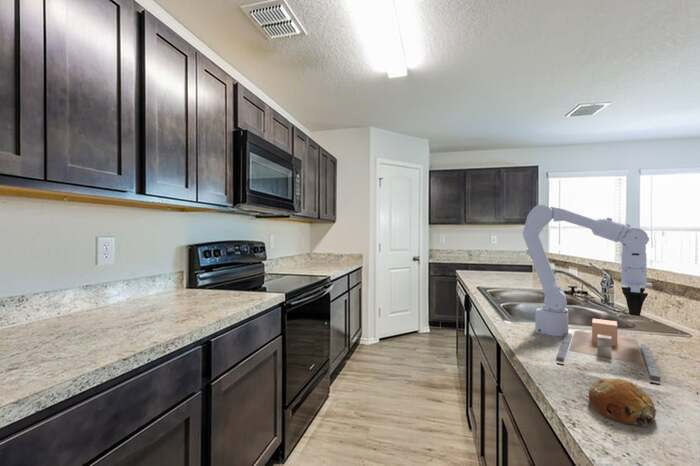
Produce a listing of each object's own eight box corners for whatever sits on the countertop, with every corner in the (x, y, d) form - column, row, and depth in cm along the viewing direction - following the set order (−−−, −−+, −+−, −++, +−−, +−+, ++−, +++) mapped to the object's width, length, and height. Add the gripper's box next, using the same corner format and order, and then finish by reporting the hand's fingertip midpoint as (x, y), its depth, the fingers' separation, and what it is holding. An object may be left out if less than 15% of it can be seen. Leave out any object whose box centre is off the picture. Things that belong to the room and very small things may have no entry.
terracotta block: (592, 342, 101) (592, 322, 101) (592, 337, 106) (592, 318, 106) (617, 346, 97) (617, 325, 97) (616, 340, 102) (616, 321, 102)
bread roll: (644, 426, 65) (636, 382, 69) (673, 431, 57) (661, 380, 60) (586, 417, 69) (580, 376, 72) (603, 420, 60) (596, 373, 63)
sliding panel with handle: (568, 354, 94) (568, 333, 94) (575, 333, 113) (575, 315, 113) (644, 368, 84) (644, 344, 84) (637, 343, 103) (637, 323, 103)
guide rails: (556, 364, 87) (556, 356, 87) (565, 339, 108) (565, 332, 108) (660, 385, 75) (660, 376, 75) (648, 352, 95) (648, 345, 95)
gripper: (654, 271, 91) (654, 320, 91) (649, 266, 103) (649, 310, 103) (621, 269, 96) (621, 316, 96) (619, 265, 107) (619, 307, 107)
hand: (633, 313), depth 100 cm, fingers open, 7 cm apart
